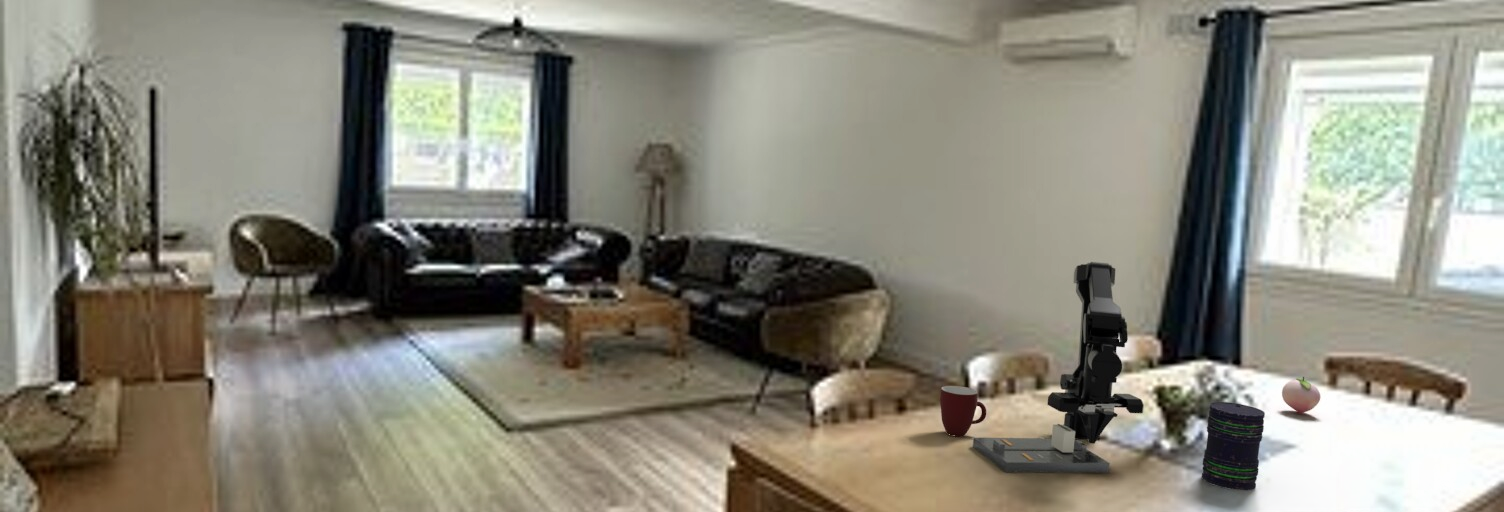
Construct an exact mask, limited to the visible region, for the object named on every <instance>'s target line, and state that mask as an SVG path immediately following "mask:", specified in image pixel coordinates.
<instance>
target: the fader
mask: <svg viewBox="0 0 1504 512" xmlns="http://www.w3.org/2000/svg"><path fill="white" fill-rule="evenodd" d="M1051 431H1052V432H1051V433H1052V434H1051V438H1052V441H1051V445H1052V446H1053V447H1055V448H1057V449H1058V450H1060V451H1061V452H1073V451H1074V441H1075V440H1076V439H1075V431H1074V430H1072V429H1070V428H1069V427H1067V426H1065V425H1064V424H1060V423H1057V424H1052V430H1051Z"/></svg>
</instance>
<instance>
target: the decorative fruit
mask: <svg viewBox="0 0 1504 512" xmlns="http://www.w3.org/2000/svg"><path fill="white" fill-rule="evenodd" d="M1281 396H1282V400H1283V402H1284V403H1285V404H1286V405H1288V406H1289V407H1290V408H1291V409H1293V410H1294V411H1295V412H1297V413H1298V414H1303V413H1307V412H1309V411H1312V410H1313V409H1315V407H1317V405H1318V404H1319V403H1320V401H1321V393H1320V391H1319V389H1318V387H1317V386H1315V384H1312V383H1310V382H1308V381H1307V380H1306V379H1305V376H1302V378H1301V377H1300V378H1299V377H1298V378H1297V377H1296V379H1294V380H1290V381H1288V382H1287V383H1285V384H1284V386H1283V387H1282V389H1281Z"/></svg>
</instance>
